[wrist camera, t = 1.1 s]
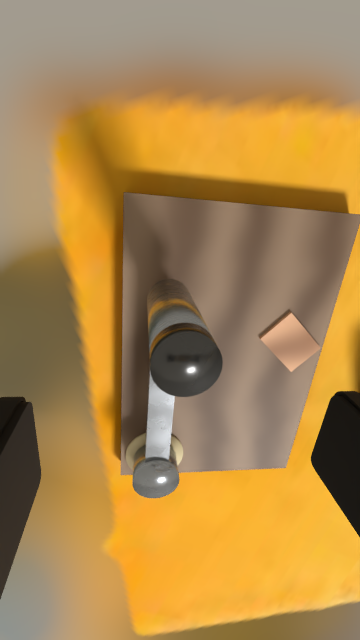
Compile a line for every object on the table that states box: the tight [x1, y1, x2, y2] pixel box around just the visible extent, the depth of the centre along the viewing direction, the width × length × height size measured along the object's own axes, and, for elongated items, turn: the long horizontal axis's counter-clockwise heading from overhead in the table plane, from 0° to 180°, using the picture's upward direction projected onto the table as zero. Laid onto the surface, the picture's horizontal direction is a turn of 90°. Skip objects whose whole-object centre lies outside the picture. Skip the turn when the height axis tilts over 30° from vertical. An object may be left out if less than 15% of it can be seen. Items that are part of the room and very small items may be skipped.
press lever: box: [133, 279, 223, 498], centre depth 21 cm, size 4×22×11 cm, turn 175°
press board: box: [121, 192, 360, 475], centre depth 28 cm, size 19×28×2 cm
